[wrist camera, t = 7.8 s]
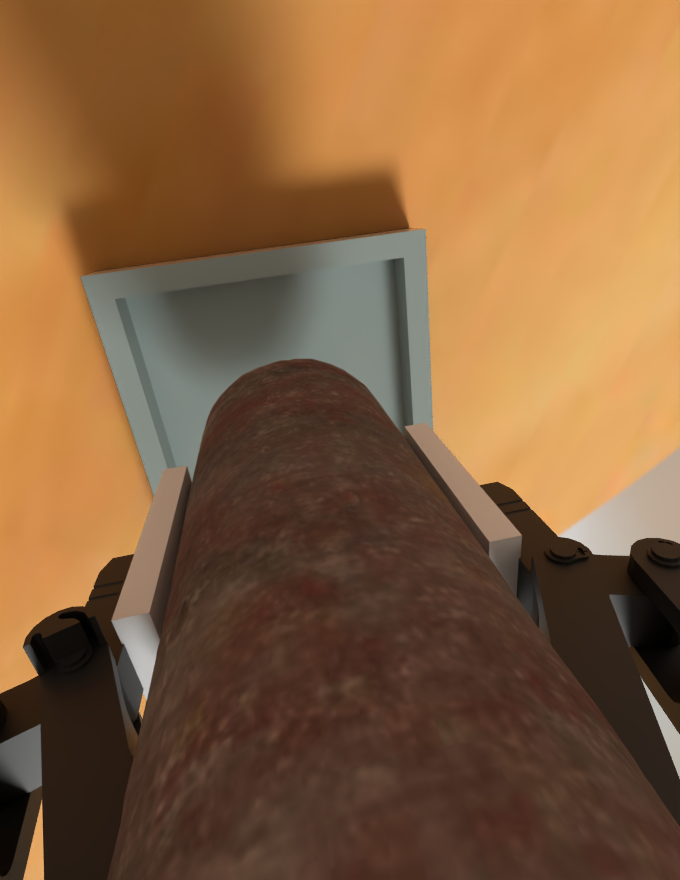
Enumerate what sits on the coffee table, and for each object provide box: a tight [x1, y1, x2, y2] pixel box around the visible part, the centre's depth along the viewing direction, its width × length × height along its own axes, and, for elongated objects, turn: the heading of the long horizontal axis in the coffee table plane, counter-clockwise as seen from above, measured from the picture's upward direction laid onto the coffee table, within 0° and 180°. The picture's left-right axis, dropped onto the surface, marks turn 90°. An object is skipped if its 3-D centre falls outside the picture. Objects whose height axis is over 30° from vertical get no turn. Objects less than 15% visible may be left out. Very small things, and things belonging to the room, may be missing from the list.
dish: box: [81, 228, 433, 496], centre depth 24 cm, size 14×14×2 cm
